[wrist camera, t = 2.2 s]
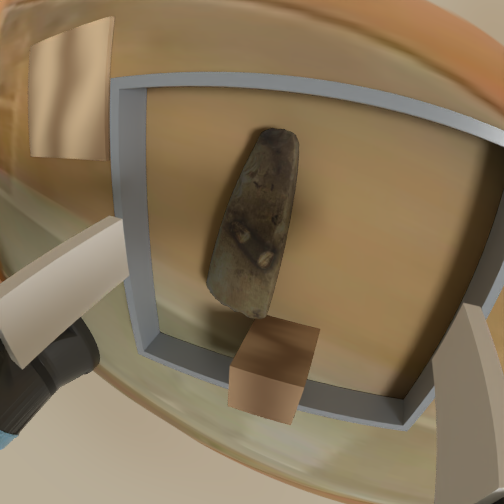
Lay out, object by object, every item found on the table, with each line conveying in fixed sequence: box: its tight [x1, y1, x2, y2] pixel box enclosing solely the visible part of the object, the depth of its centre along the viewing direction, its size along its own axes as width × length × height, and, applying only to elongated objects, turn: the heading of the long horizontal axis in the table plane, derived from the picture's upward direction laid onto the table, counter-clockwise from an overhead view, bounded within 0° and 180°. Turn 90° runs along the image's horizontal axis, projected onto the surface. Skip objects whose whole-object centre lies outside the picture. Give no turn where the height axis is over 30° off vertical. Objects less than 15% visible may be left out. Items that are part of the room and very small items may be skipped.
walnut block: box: [228, 315, 320, 425], centre depth 22 cm, size 5×5×6 cm
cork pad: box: [28, 16, 115, 161], centre depth 21 cm, size 12×12×1 cm
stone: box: [206, 128, 299, 319], centre depth 20 cm, size 13×5×2 cm, turn 169°
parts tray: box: [110, 72, 504, 431], centre depth 20 cm, size 26×24×3 cm
